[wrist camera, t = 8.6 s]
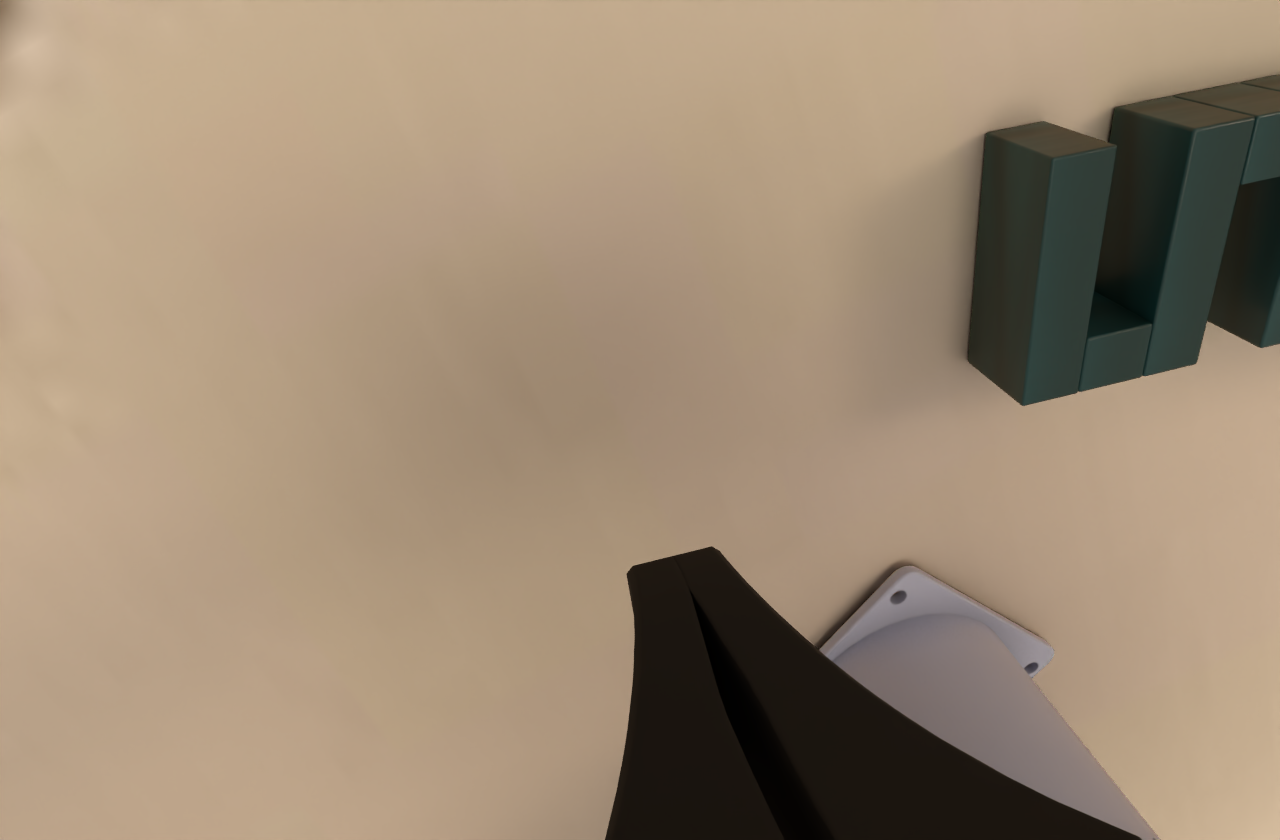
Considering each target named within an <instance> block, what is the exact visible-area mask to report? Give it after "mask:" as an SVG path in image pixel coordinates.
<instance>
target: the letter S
mask: <svg viewBox="0 0 1280 840" xmlns="http://www.w3.org/2000/svg"><path fill="white" fill-rule="evenodd" d="M1207 321H1209V322H1211V323H1213V324H1215V325H1217V326H1219V327H1220V328H1222V329H1224V330H1226V331H1228V332H1230V333H1232V334H1234V335H1236V336H1238V337H1240V338H1242V339H1244V340H1246V341H1248V342H1250V343H1251V344H1253V345H1255V346H1257V347H1260V348H1264V347H1268V346H1272V345H1276V344H1280V75H1275V76H1270V77H1265V78H1260V79H1255V80H1250V81H1245V82H1241V83H1233V84H1228V85H1223V86H1218V87H1213V88H1208V89H1203V90H1198V91H1193V92H1188V93H1183V94H1178V95H1174V96H1172V97H1171V96H1169V97H1164V98H1159V99H1154V100H1149V101H1144V102H1139V103H1134V104H1129V105H1124V106H1119V107H1116V108H1115V110H1114V115H1113V122H1112V128H1111V135H1110V141H1109V143H1108V142H1105V141H1102V140H1099V139H1096V138H1093V137H1090V136H1087V135H1084V134H1081V133H1078V132H1075V131H1072V130H1069V129H1066V128H1063V127H1060V126H1057V125H1054V124H1051V123H1048V122H1044V121H1043V122H1038V123H1033V124H1028V125H1023V126H1018V127H1013V128H1008V129H1003V130H998V131H993V132H989V133H987V134H986V140H985V152H984V165H983V177H982V190H981V202H980V215H979V227H978V240H977V252H976V265H975V277H974V289H973V302H972V314H971V327H970V339H969V352H968V362H969V363H970V364H971V365H973V366H974V367H975V368H976V369H977V370H979V371H980V372H981V373H982V374H984V375H985V376H986V377H987V378H989V379H990V380H991V381H992V382H993V383H995V384H996V385H997V386H998V387H1000V388H1001V389H1002V390H1003V391H1004V392H1006V393H1007V394H1008V395H1009V396H1011V397H1012V398H1013V399H1014V400H1016V401H1017V402H1018V403H1019V404H1020V405H1022V406H1025V405H1030V404H1034V403H1038V402H1042V401H1046V400H1050V399H1054V398H1058V397H1063V396H1067V395H1071V394H1075V393H1077V392H1078V391H1080V392H1082V391H1086V390H1090V389H1094V388H1098V387H1102V386H1107V385H1111V384H1115V383H1119V382H1123V381H1127V380H1131V379H1136V378H1140V377H1141V376H1148V375H1153V374H1157V373H1161V372H1165V371H1169V370H1173V369H1177V368H1182V367H1186V366H1190V365H1194V364H1196V363H1197V360H1198V356H1199V352H1200V348H1201V344H1202V339H1203V335H1204V331H1205V327H1206V323H1207Z"/></svg>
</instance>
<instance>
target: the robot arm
mask: <svg viewBox="0 0 1280 840" xmlns="http://www.w3.org/2000/svg"><path fill="white" fill-rule="evenodd" d="M627 579H628V585H629V590H630V596H631V601H632V607H633V613H634V628H635V645H634V672H633V687H632V695H631V704H630V713H629V722H628V730H627V737H626V743H625V750H624V755H623V761H622V767H621V772H620V777H619V782H618V787H617V792H616V796H615V800H614V805H613V809H612V813H611V817H610V821H609V826H608V830H607V834H606V838H605V840H1161V839H1160V838H1159V837H1158V836H1157V834H1156V833H1155V832H1154V831H1153V829H1152V828H1151V827H1150V826H1149V824H1148V823H1147V822H1146V821H1145V819H1144V818H1143V817H1142V816H1141V814H1140V813H1139V812H1138V811H1137V809H1136V808H1135V807H1134V806H1133V804H1132V803H1131V802H1130V801H1129V799H1128V798H1127V797H1126V796H1125V794H1124V793H1123V792H1122V791H1121V789H1120V788H1119V787H1118V786H1117V784H1116V783H1115V782H1114V781H1113V780H1112V778H1111V777H1110V776H1109V775H1108V773H1107V772H1106V771H1105V770H1104V768H1103V767H1102V766H1101V765H1100V763H1099V762H1098V761H1097V760H1096V758H1095V757H1094V756H1093V755H1092V753H1091V752H1090V751H1089V750H1088V748H1087V747H1086V746H1085V745H1084V743H1083V742H1082V741H1081V740H1080V738H1079V737H1078V736H1077V735H1076V733H1075V732H1074V731H1073V730H1072V728H1071V727H1070V726H1069V725H1068V723H1067V722H1066V721H1065V720H1064V718H1063V717H1062V716H1061V715H1060V713H1059V712H1058V711H1057V710H1056V708H1055V707H1054V706H1053V705H1052V703H1051V702H1050V701H1049V700H1048V698H1047V697H1046V696H1045V695H1044V693H1043V692H1042V691H1041V690H1040V688H1039V687H1038V686H1037V685H1036V683H1035V682H1034V681H1033V680H1032V678H1033V677H1034V676H1035V675H1036V674H1037V673H1038V672H1039V671H1040V670H1041V669H1043V668H1044V667H1045V666H1046V665H1047V664H1048V663H1049V662H1050V661H1051V660H1052V658H1053V656H1054V649H1053V648H1052V647H1051V646H1050V645H1049V643H1048V642H1047V641H1046V640H1044V639H1042V638H1040V637H1038V636H1037V635H1035V634H1033V633H1031V632H1030V631H1028V630H1026V629H1024V628H1023V627H1021V626H1019V625H1017V624H1016V623H1014V622H1012V621H1010V620H1008V619H1007V618H1005V617H1003V616H1001V615H1000V614H998V613H996V612H994V611H993V610H991V609H989V608H987V607H986V606H984V605H982V604H980V603H979V602H977V601H975V600H973V599H971V598H970V597H968V596H966V595H964V594H963V593H961V592H959V591H957V590H956V589H954V588H952V587H950V586H949V585H947V584H945V583H943V582H942V581H940V580H938V579H936V578H934V577H933V576H931V575H929V574H927V573H926V572H924V571H922V570H920V569H919V568H917V567H915V566H911V565H910V566H903V567H901V568H899V569H897V570H896V571H895V572H894V573H893V574H892V575H891V576H890V577H889V578H888V579H887V580H886V581H885V582H884V583H883V584H882V585H881V586H880V587H879V588H878V589H877V590H876V591H875V592H874V593H873V594H872V595H871V596H870V597H869V598H868V599H867V601H866V602H865V603H864V604H863V605H862V606H861V607H860V608H859V609H858V610H857V611H856V612H855V613H854V614H853V615H852V616H851V617H850V618H849V619H848V620H847V621H846V622H845V623H844V624H843V625H842V626H841V627H840V628H839V630H838V631H837V632H836V633H835V634H834V635H833V636H832V637H831V638H830V639H829V640H828V641H827V642H826V643H825V644H824V645H823V646H822V647H821V648H820V649H819V650H818V649H817V648H816V647H815V646H813V645H812V644H811V643H810V642H809V641H808V640H807V639H805V638H804V637H803V636H802V635H801V634H800V633H799V632H798V631H797V630H796V629H794V628H793V627H792V626H791V625H790V624H789V623H788V622H787V621H786V620H785V619H784V618H782V617H781V616H780V615H779V614H778V613H777V612H776V611H775V610H774V609H773V608H772V607H771V606H770V605H769V604H768V603H767V602H766V601H765V600H764V599H763V598H762V597H761V596H760V595H759V594H758V593H757V592H756V591H755V590H754V589H753V588H752V587H751V586H750V585H749V584H748V583H747V582H746V581H745V579H744V578H743V577H742V576H741V575H740V574H739V573H738V572H737V571H736V570H735V569H734V567H733V566H732V565H731V564H730V563H729V562H728V561H727V559H726V558H725V557H724V556H723V555H722V553H721V552H720V551H719V550H717V549H715V548H714V547H708V548H704V549H700V550H696V551H692V552H688V553H684V554H680V555H675V556H671V557H667V558H663V559H659V560H655V561H651V562H647V563H643V564H639V565H635V566H633V567H632V568H631V569H630V570H629V571H628V573H627ZM897 591H898V592H897ZM895 592H897V593H896V594H894V593H895ZM893 594H894V595H893Z"/></svg>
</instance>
